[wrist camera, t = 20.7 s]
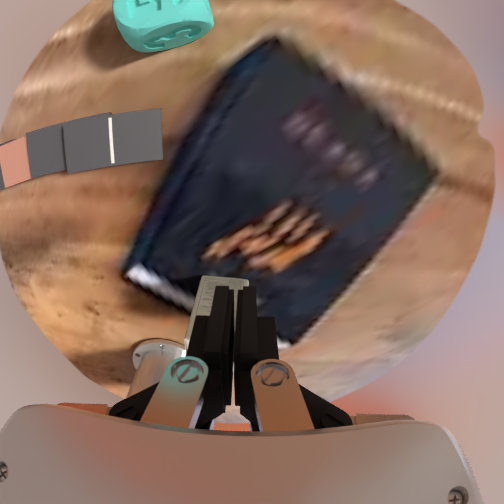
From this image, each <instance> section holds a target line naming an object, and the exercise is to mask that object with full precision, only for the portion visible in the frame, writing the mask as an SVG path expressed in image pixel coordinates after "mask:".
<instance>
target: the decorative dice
mask: <svg viewBox="0 0 504 504" xmlns="http://www.w3.org/2000/svg"><path fill="white" fill-rule="evenodd" d="M112 8H113V14H114V18H115V21H116V24H117V27H118V29H119V31H120V33H121V35H122V37H123V38H124V40H125V41H126V42H127V44H128V45H129V46H130V47H131V48H133V49H134V50H136V51H139V52H157V51H162V50H167V49H171V48H175V47H178V46H182V45H185V44H187V43H190V42H192V41H195V40H197V39H199V38H201V37H202V36H204V35H205V34H207V33H208V32H209V31H210V29H211V28H212V27H213V25H214V21H213V16H212V12H211V9H210V5H209V2H208V0H113V2H112Z"/></svg>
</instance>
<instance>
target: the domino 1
mask: <svg viewBox="0 0 504 504" xmlns="http://www.w3.org/2000/svg"><path fill="white" fill-rule="evenodd" d="M67 122H68V121H67ZM0 164H1V170H2V175H3V180H4V185H5V188H6V187H9V186H12V185H14V184H17V183H20V182H23V181H26V180H28V179H31V173H30V166H29V159H28V150H27V141H26V136H24V137H21V138H19V139H16V140H14V141H12V142H9V143H7V144H5V145H2V146H0Z"/></svg>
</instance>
